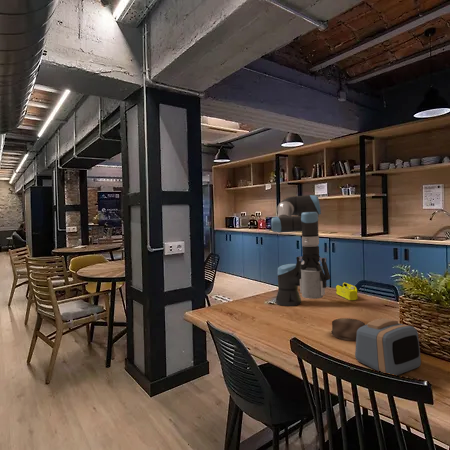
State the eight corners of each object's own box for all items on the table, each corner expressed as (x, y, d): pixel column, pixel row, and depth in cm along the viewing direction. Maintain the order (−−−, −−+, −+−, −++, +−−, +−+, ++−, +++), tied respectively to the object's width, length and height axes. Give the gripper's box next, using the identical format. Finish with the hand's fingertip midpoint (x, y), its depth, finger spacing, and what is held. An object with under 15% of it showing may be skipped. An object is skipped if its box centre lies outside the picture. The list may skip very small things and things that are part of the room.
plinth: (326, 336, 146) (326, 325, 145) (337, 326, 157) (337, 316, 157) (361, 343, 136) (360, 331, 136) (370, 332, 148) (370, 321, 148)
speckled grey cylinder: (321, 293, 156) (320, 267, 156) (324, 298, 147) (323, 271, 146) (300, 293, 158) (299, 268, 157) (303, 298, 148) (302, 271, 148)
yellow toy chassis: (358, 300, 198) (357, 287, 198) (349, 301, 197) (349, 287, 197) (343, 294, 214) (343, 281, 214) (335, 295, 213) (335, 282, 213)
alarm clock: (391, 380, 107) (390, 332, 107) (352, 360, 122) (351, 318, 121) (423, 368, 114) (422, 323, 113) (383, 351, 129) (382, 311, 128)
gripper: (285, 245, 155) (287, 292, 156) (331, 247, 141) (332, 298, 142) (292, 243, 161) (294, 289, 162) (337, 245, 147) (339, 294, 148)
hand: (312, 293), depth 152 cm, fingers closed on speckled grey cylinder, 9 cm apart
